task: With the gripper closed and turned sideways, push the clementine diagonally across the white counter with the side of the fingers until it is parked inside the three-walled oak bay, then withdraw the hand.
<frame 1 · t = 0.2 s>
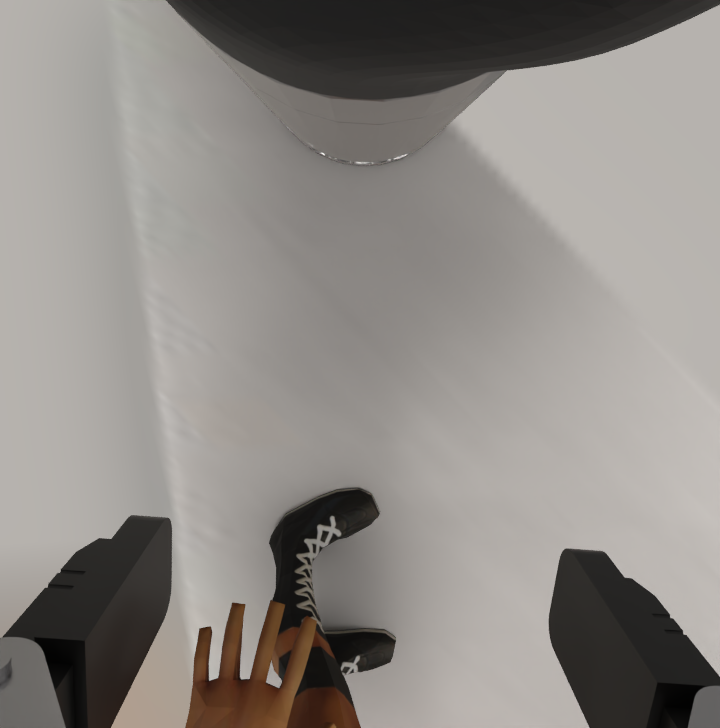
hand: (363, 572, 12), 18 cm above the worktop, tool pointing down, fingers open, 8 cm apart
figurine: (338, 579, 33), on the worktop
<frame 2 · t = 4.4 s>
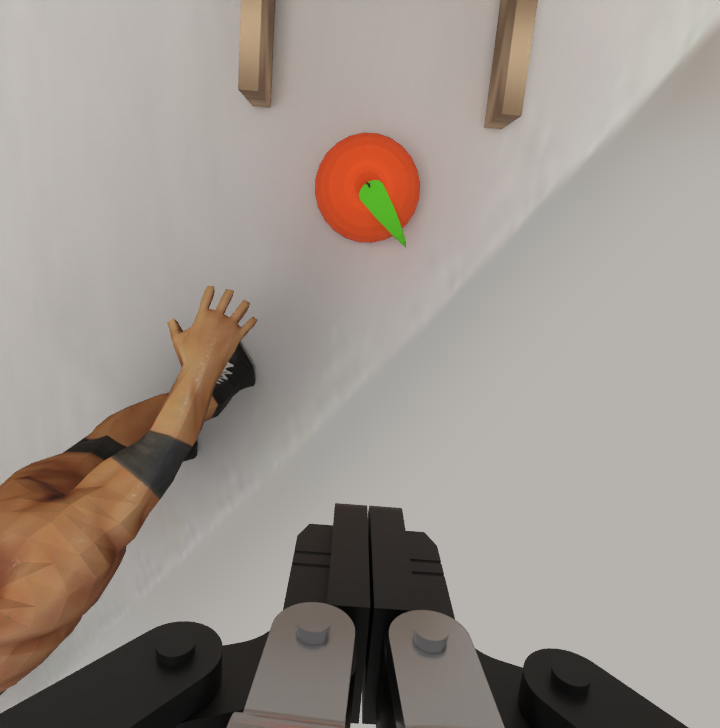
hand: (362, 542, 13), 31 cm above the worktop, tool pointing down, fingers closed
clementine: (370, 198, 41), on the worktop
bay: (386, 12, 38), on the worktop
figurine: (195, 391, 45), on the worktop
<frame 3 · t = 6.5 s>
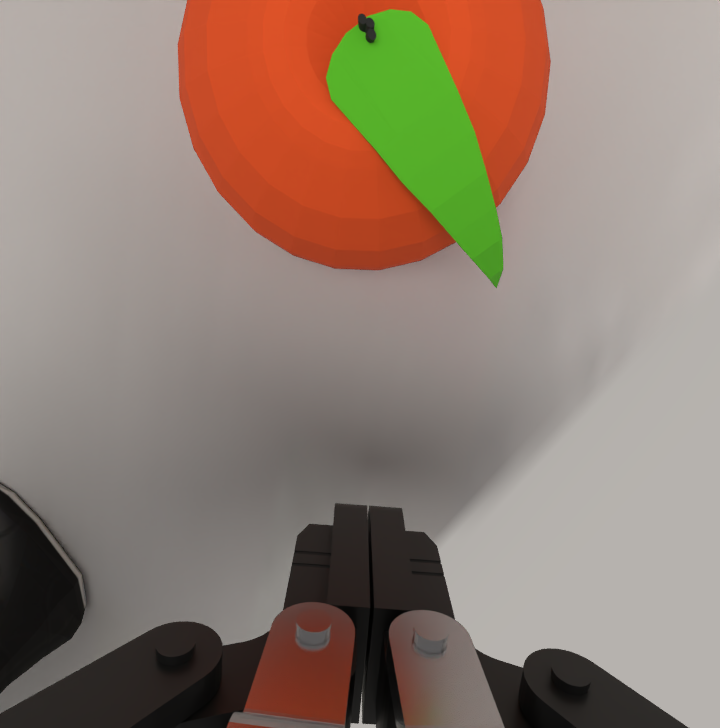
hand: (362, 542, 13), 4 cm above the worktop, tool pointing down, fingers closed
clementine: (373, 141, 15), on the worktop
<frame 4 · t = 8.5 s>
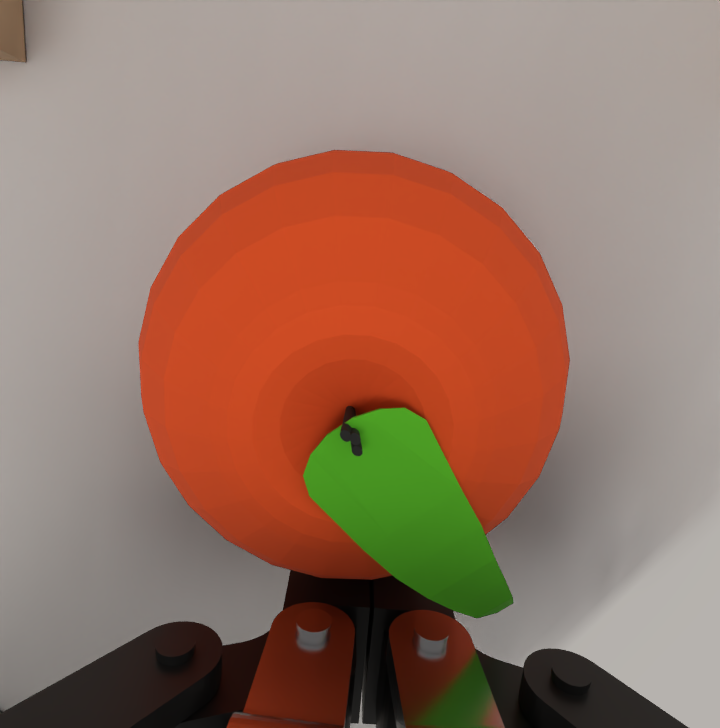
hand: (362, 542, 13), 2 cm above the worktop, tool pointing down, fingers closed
clementine: (368, 343, 13), on the worktop, touching gripper
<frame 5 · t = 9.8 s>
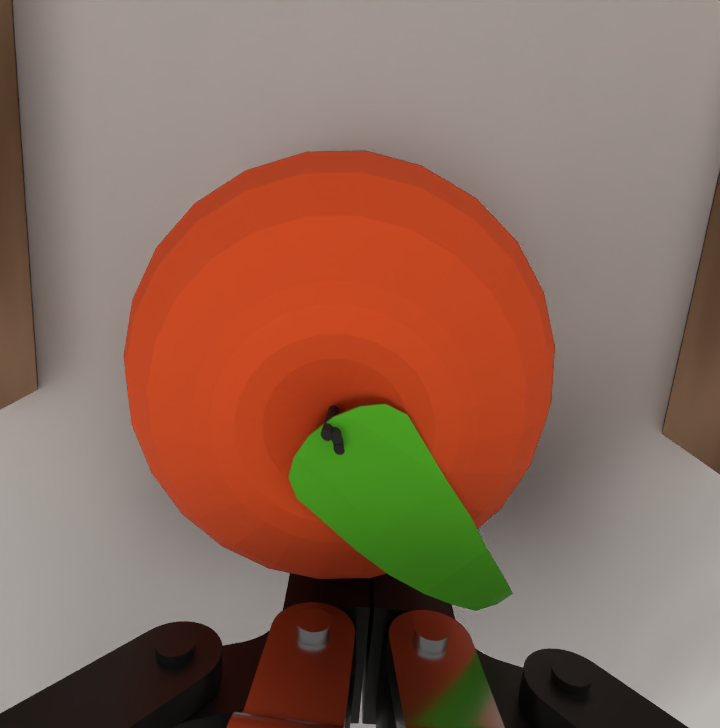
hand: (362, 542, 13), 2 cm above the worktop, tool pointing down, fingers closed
clementine: (359, 343, 13), on the worktop, touching gripper
bay: (376, 115, 12), on the worktop
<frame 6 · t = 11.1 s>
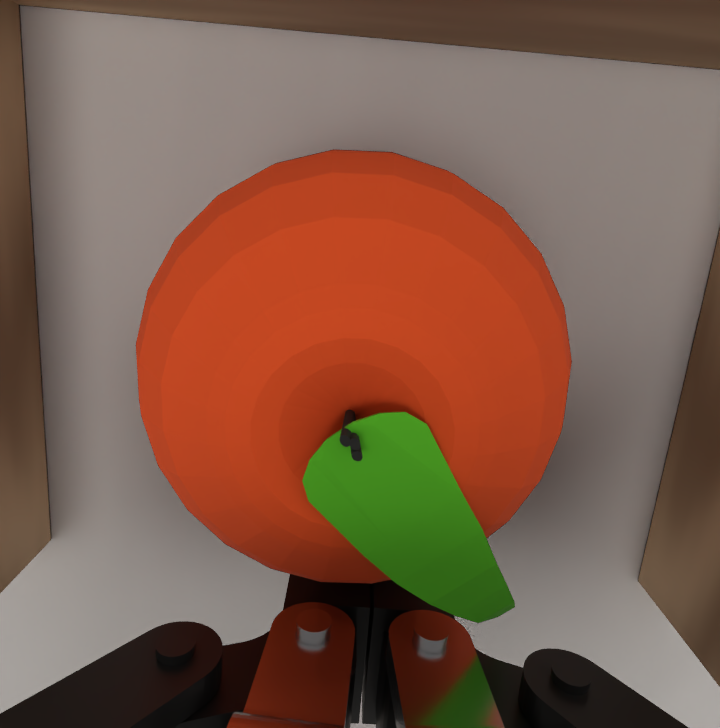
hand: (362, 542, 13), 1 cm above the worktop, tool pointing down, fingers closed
clementine: (368, 344, 13), on the worktop, touching gripper
bay: (370, 303, 13), on the worktop
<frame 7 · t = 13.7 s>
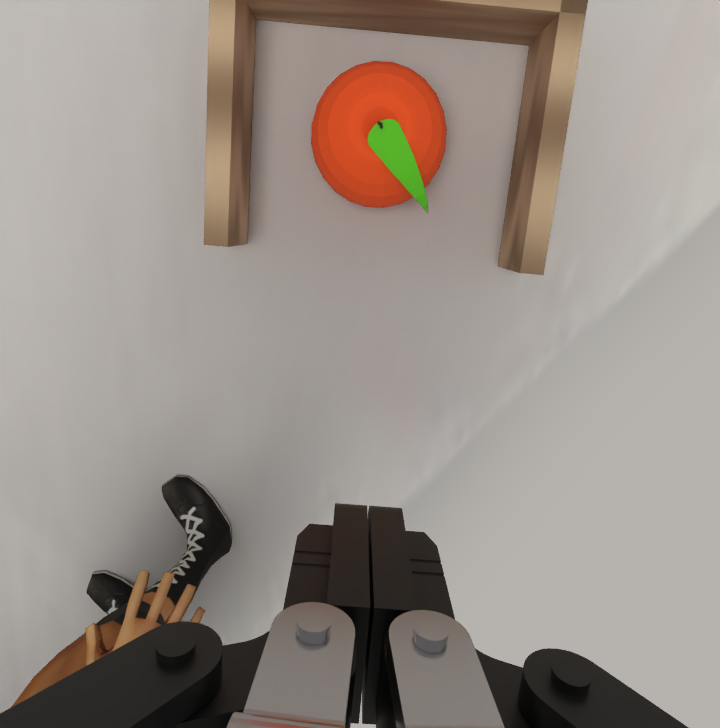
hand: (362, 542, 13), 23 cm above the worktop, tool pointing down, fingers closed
clementine: (382, 155, 33), on the worktop
bay: (383, 137, 32), on the worktop
figurine: (164, 551, 39), on the worktop
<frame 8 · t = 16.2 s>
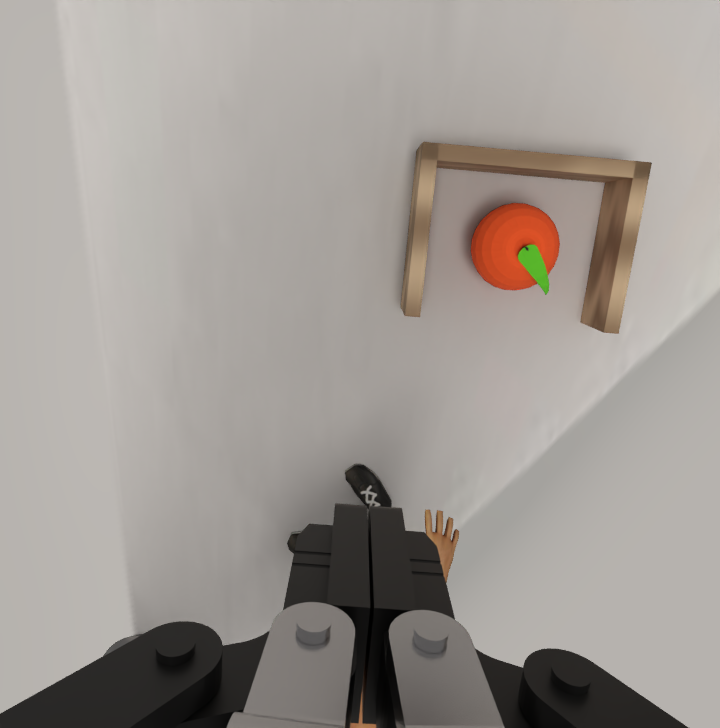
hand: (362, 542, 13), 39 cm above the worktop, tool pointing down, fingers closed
clementine: (506, 250, 50), on the worktop
bay: (508, 240, 49), on the worktop
figurine: (341, 517, 56), on the worktop
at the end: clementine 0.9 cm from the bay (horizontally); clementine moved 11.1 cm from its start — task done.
